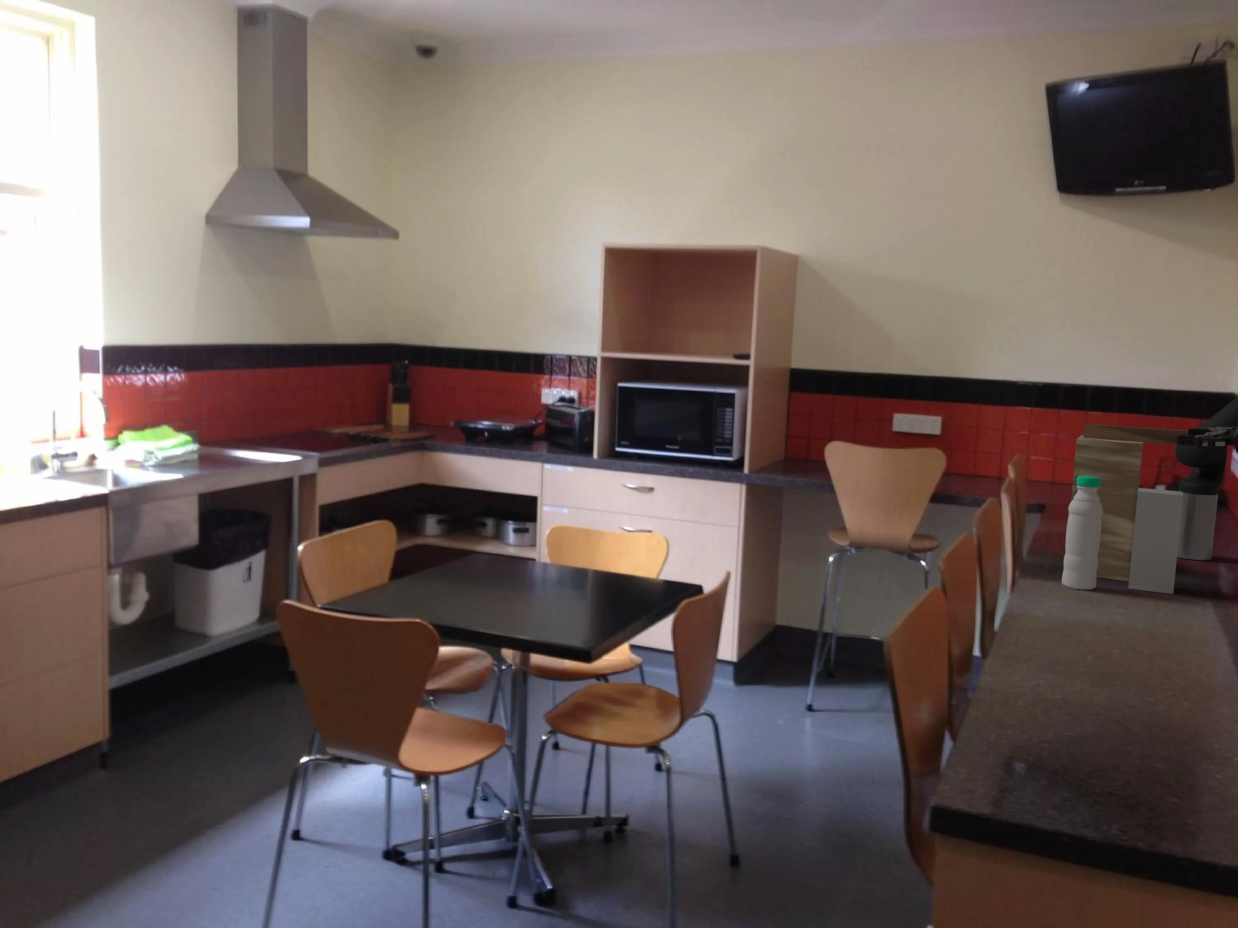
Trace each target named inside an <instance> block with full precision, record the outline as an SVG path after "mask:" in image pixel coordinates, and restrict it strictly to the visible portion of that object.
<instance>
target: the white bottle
mask: <svg viewBox="0 0 1238 928" xmlns="http://www.w3.org/2000/svg"><path fill="white" fill-rule="evenodd" d="M1099 486H1100V479H1099V478H1098V477H1095V476H1086V475H1081V476H1078V477H1077V488H1078V492H1077V494H1076V495H1075V496H1074V500H1072V502H1071V501H1070V503H1069V505H1068V517H1067V524H1066V531H1065V533H1066V534H1065V554H1064V557H1063V571H1062V575H1061V584H1062V585H1063V586H1064V587H1066V588H1068V589H1073V590H1079V589H1080V590H1079V591H1092V590H1094V589H1095V588H1096V586H1097V577H1096V571H1097V567H1098V557H1097V556H1098V552H1099V545H1100V536H1101V516H1102V514H1103V508H1102V505H1101V503H1100V499H1099V497H1098V495H1097V490H1098V489H1099V488H1098V487H1099Z"/></svg>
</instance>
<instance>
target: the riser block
mask: <svg viewBox="0 0 1238 928" xmlns="http://www.w3.org/2000/svg"><path fill="white" fill-rule="evenodd" d="M1182 504H1183V492H1180V491H1179V490H1178V491H1177V490H1166V489H1155V488H1143V487H1139V488H1138V495H1137V505H1136V515H1135V525H1134V536H1133V546H1132V556H1131V566H1130V576H1129V581H1128V589H1129V590H1137V591H1138V590H1139V591H1146V592H1154V593H1163V594H1170V595H1174V589H1175V580H1176V579H1175V578H1176V569H1177V560H1178V557H1177V552H1178V542H1179V533H1180V523H1181V513H1182Z"/></svg>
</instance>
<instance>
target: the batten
mask: <svg viewBox="0 0 1238 928" xmlns="http://www.w3.org/2000/svg"><path fill="white" fill-rule="evenodd" d="M1187 433H1188V430H1185V429H1184V430H1183V429H1167V428H1151V427H1150V428H1149V427H1136V426H1121V425H1109V424H1107V425H1105V424H1093V423H1092V424H1090V423H1089V424H1088V423H1084V424H1083V434H1082V435H1083V438H1093V439H1107V440H1121V441H1135V442H1143V443H1149V444H1150V443H1151V444H1165V445H1166V444H1167V445H1175V446H1176V445H1178V444H1177V437H1178V436H1180V435H1186V436H1187Z"/></svg>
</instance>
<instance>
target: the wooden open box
mask: <svg viewBox="0 0 1238 928" xmlns="http://www.w3.org/2000/svg"><path fill="white" fill-rule="evenodd" d="M1143 449H1144V442H1135V441H1121V440H1107V439H1093V438H1083V434H1081V435H1080V436H1078V437H1077V438H1076V442H1075V454H1074V464H1073V465H1074V466H1073V473H1072V486H1071V497H1070V503H1071V502H1072V500H1074V496H1075V495H1076V494H1077V492H1078V488H1077V477H1078V476H1081V475H1086V476H1095V477H1098V478H1099V479H1100V486H1099V487H1098V488H1099V489H1098V490H1097V495H1098V497H1099V499H1100V503H1101V505H1102V508H1103V514H1102V516H1101V536H1100V545H1099V552H1098V556H1097V557H1098V567H1097V571H1096V578H1099V579H1108V580H1116V581H1123V582H1124V581H1125V582H1129V576H1130V566H1131V556H1132V546H1133V536H1134V525H1135V515H1136V505H1137V495H1138V488H1140V482H1141V481H1140V479H1141V471H1142V469H1141V468H1142V460H1143V459H1142V458H1143V452H1144V451H1143Z"/></svg>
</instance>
